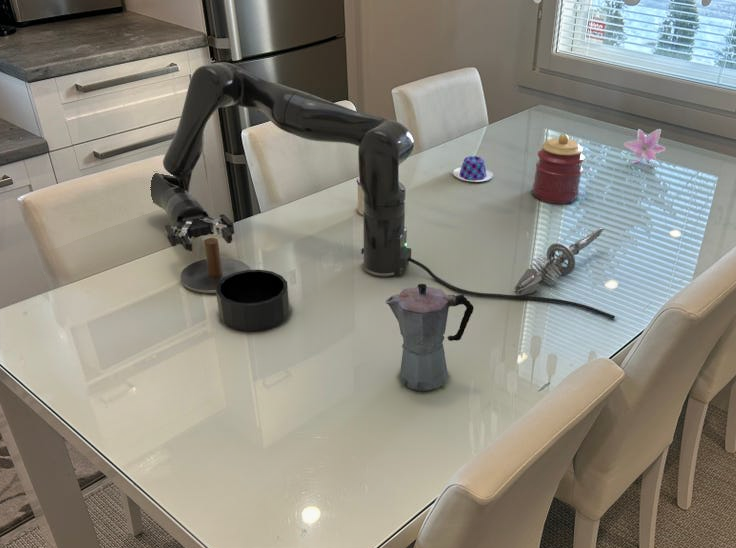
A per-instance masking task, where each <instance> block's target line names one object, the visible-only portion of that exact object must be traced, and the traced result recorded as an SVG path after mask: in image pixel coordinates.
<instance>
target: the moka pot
mask: <svg viewBox="0 0 736 548" xmlns="http://www.w3.org/2000/svg"><path fill="white" fill-rule="evenodd" d="M384 302H385V304H386V305H388V307H389V308H390V310H391V311H392V313H393V315H394V317H395V318H396V320H397V322H398V326H399V331H400V332H399V333H400V335H401V337H402V344H401V348H402V353H401V361H400V362H401V363H400V371H399V378H400V381H401V383H402V384H403V385H404V386H405V387H407V388H408V389H411V390H414V391H419V392H424V391H432V390H436V389H438V388H440V387H442V386H443V385H444V384H445V383H446V382H447V380H448V377H449V372H448V365H447V360H446V353H445V348H444V343H443V342H444V340H445V336H444V335H445V334H446V329H447V322H448V316H449V308H450V307H454V308H455V307H457V306H459V305H464V307H465V310H464V313H463V316H462V318H461V321H460V325H459V327H458V330H457V331H456V334H454V335H448V336H447V340H448V341H449V342H453V341H460V340H461V339H462V338H463V335H464V334H465V330H466V329H467V325H468V323H469V321H470V318H471V316H472V314H473V313H474V305H473V304H472V303H471V301H470V300H468V299H467V297H465V294H457V295H455V294H446V293H445V292H444V291H443V290H442V289H441V288H437V287H433V286H429V285H427V284H425V283H419V284H418V285H417V286H412V287H408V288H403V289H402V290H401V291H400V292H399V293H397V294H394V295H390V297H387V299H385V301H384Z"/></svg>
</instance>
